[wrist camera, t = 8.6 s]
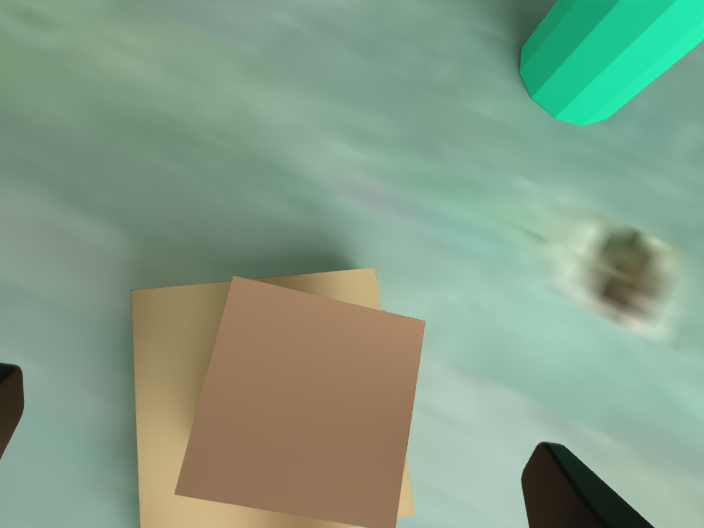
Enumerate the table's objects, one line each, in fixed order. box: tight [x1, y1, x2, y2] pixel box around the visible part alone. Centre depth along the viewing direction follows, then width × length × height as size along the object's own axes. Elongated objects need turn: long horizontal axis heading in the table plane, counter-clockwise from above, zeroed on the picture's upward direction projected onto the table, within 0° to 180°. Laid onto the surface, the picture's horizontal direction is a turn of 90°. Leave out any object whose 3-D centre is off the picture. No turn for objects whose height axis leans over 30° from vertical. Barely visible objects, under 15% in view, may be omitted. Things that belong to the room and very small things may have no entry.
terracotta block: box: [174, 276, 425, 528], centre depth 14 cm, size 4×4×9 cm
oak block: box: [131, 268, 415, 528], centre depth 20 cm, size 9×9×2 cm
